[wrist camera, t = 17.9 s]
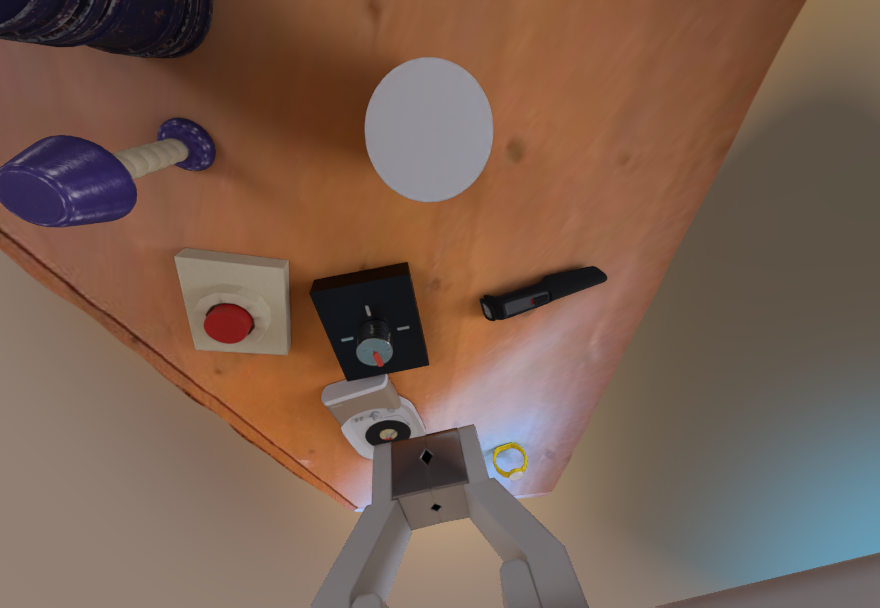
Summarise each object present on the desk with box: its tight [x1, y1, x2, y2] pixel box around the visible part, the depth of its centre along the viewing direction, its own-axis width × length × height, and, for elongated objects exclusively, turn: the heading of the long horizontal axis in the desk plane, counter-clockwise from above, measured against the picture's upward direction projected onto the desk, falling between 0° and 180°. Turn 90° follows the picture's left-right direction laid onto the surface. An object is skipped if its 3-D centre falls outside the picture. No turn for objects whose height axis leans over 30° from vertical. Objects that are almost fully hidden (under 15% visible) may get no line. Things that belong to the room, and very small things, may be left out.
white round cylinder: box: [365, 57, 493, 202], centre depth 26 cm, size 8×8×12 cm
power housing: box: [174, 248, 291, 355], centre depth 37 cm, size 12×10×4 cm
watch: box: [493, 442, 527, 481], centre depth 59 cm, size 6×3×6 cm, turn 104°
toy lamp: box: [0, 118, 216, 227], centre depth 23 cm, size 5×5×17 cm
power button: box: [204, 304, 253, 344], centre depth 35 cm, size 4×4×2 cm
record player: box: [321, 374, 426, 460], centre depth 51 cm, size 12×3×20 cm
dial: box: [356, 320, 393, 367], centre depth 38 cm, size 4×4×4 cm
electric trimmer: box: [479, 266, 607, 321], centre depth 42 cm, size 4×16×3 cm, turn 107°
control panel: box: [309, 262, 429, 382], centre depth 41 cm, size 14×11×3 cm
